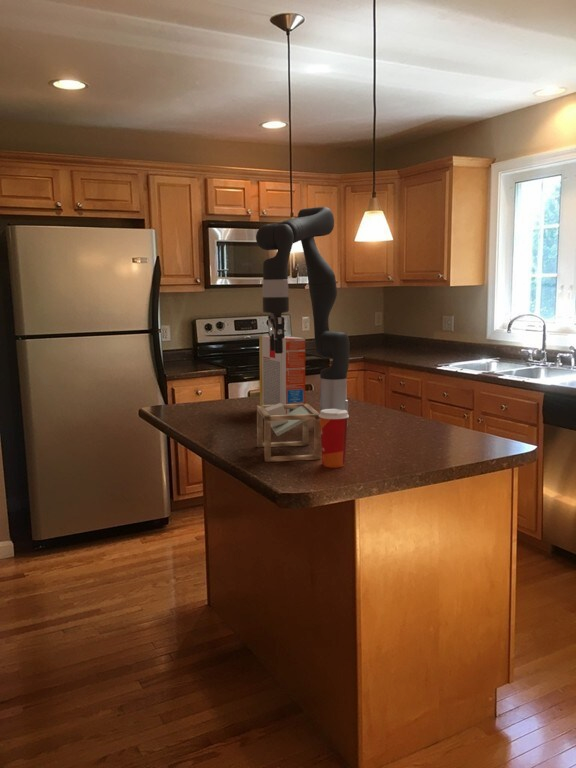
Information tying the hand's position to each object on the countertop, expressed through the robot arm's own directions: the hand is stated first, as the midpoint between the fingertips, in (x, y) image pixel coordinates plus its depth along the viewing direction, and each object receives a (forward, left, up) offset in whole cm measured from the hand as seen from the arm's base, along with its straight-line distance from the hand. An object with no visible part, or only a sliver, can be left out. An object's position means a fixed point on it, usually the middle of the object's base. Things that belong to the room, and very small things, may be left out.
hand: (276, 352), depth 188 cm
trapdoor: (-4, +2, -20) cm, 21 cm away
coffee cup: (-13, +18, -30) cm, 37 cm away
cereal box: (-11, -59, -30) cm, 67 cm away
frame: (-3, +2, -30) cm, 30 cm away
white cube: (0, +2, -21) cm, 21 cm away
